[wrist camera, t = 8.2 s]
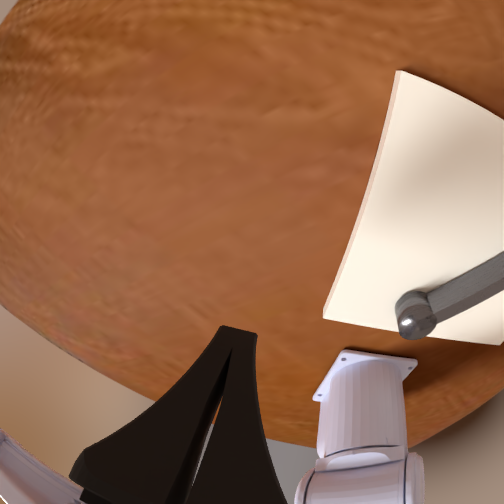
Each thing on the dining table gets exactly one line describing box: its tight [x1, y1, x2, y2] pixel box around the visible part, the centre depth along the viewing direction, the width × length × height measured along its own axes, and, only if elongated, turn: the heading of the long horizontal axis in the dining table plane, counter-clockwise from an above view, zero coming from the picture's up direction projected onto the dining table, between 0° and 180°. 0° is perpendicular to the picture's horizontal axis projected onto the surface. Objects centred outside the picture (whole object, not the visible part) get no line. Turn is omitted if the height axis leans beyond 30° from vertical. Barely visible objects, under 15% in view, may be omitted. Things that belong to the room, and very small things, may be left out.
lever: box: [395, 253, 504, 340], centre depth 15 cm, size 14×3×2 cm, turn 128°
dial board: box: [323, 71, 504, 345], centre depth 15 cm, size 17×19×1 cm
